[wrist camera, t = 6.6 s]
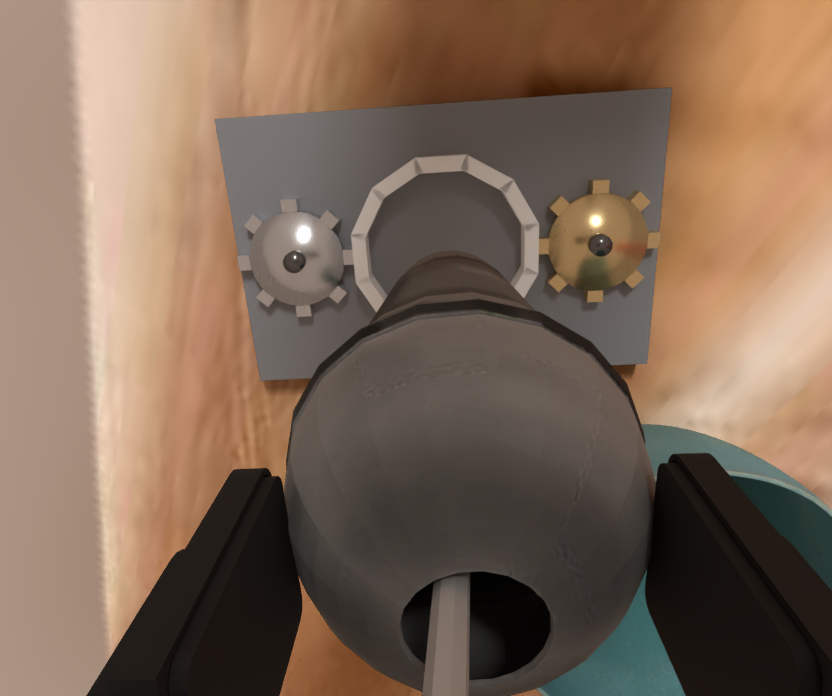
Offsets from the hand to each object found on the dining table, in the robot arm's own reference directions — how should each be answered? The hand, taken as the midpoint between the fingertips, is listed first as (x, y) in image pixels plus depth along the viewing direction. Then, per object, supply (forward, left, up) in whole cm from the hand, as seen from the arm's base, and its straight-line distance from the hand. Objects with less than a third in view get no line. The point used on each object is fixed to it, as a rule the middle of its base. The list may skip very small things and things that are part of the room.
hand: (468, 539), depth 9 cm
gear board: (0, 0, -27) cm, 27 cm away
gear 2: (0, +9, -26) cm, 27 cm away
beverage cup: (0, 0, -14) cm, 14 cm away
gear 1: (0, -9, -26) cm, 27 cm away
